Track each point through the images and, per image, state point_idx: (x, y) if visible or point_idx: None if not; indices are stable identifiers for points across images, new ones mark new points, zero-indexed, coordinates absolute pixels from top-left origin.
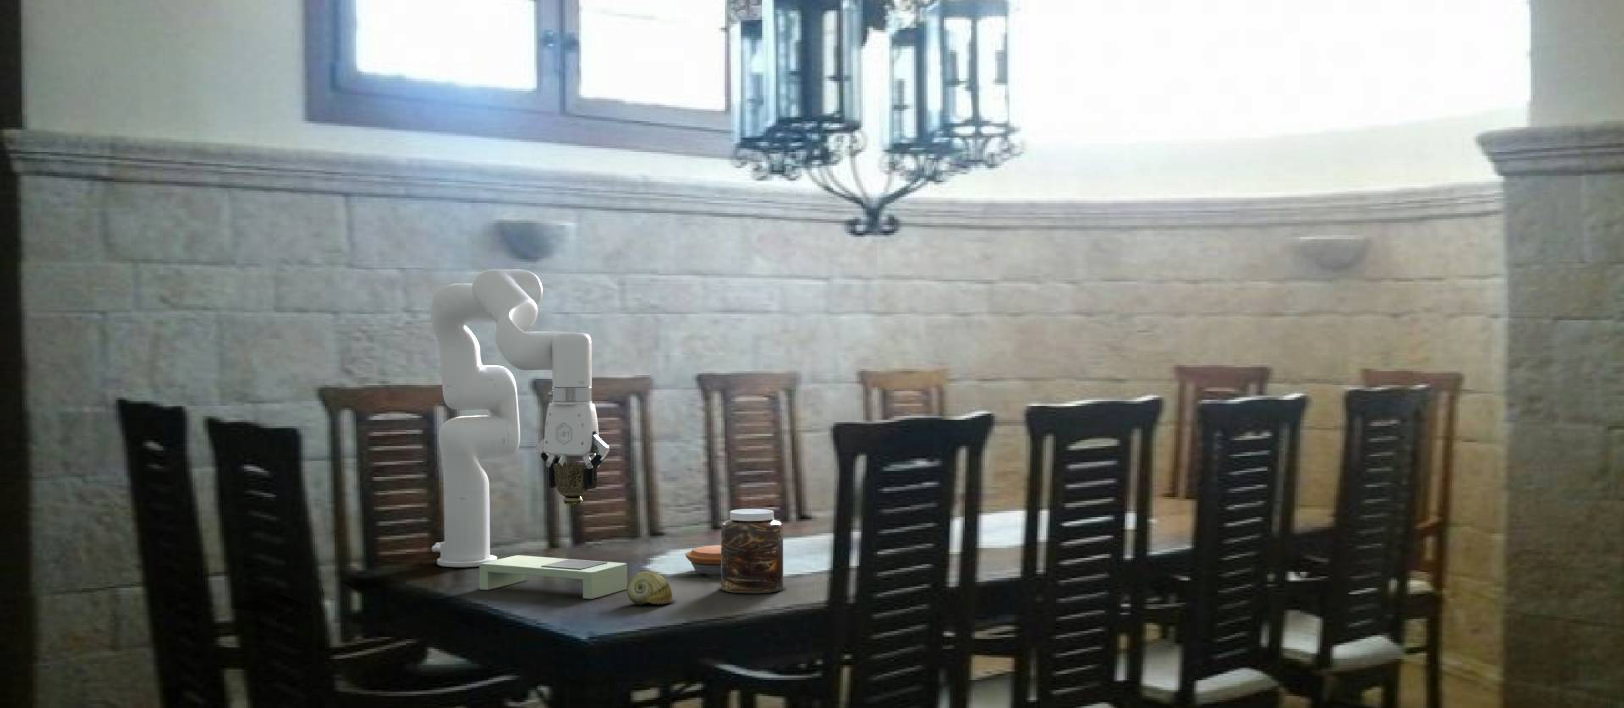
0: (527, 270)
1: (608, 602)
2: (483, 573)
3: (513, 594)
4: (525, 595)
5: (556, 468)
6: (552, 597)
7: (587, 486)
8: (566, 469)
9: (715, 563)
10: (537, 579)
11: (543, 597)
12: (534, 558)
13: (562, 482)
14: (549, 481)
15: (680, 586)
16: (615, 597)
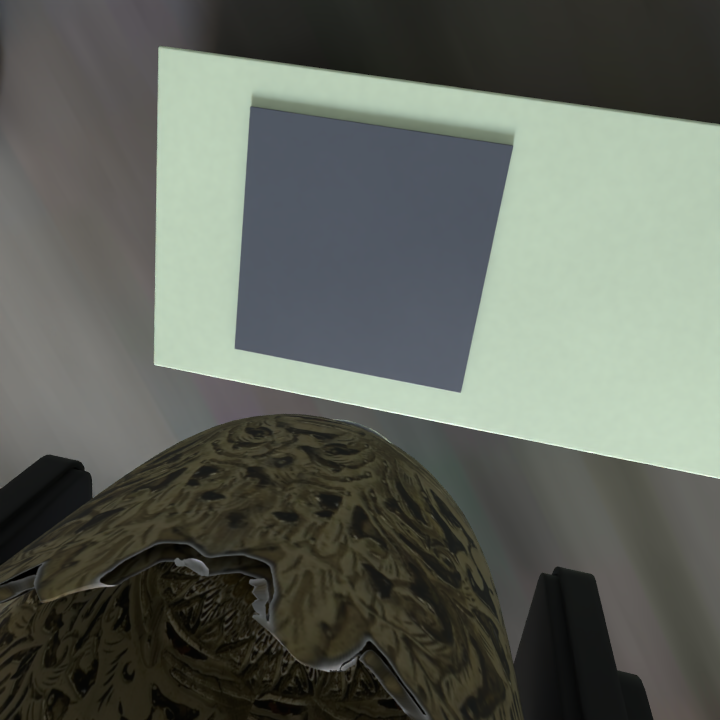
0: None
1: (109, 3)
2: None
3: (635, 63)
4: (560, 55)
5: (375, 623)
6: (405, 44)
7: (31, 472)
8: (124, 541)
9: None
10: (673, 469)
11: (447, 29)
12: (673, 412)
13: (301, 446)
14: (601, 620)
15: (62, 426)
16: (147, 135)
